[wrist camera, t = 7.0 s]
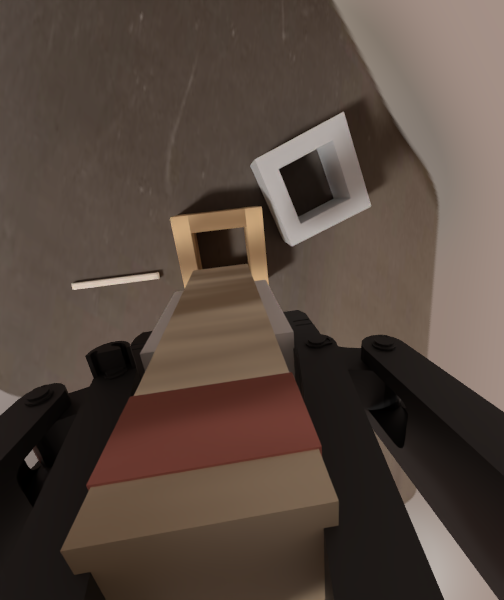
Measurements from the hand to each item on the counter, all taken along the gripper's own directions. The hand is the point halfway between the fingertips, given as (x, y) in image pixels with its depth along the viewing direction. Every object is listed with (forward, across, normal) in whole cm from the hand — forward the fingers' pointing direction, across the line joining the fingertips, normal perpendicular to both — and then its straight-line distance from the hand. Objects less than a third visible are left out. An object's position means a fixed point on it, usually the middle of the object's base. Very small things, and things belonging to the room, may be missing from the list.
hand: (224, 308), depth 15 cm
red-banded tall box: (+3, 0, 0) cm, 3 cm away
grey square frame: (+18, +10, +6) cm, 21 cm away
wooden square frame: (+18, 0, 0) cm, 18 cm away
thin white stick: (+18, -13, -2) cm, 22 cm away
